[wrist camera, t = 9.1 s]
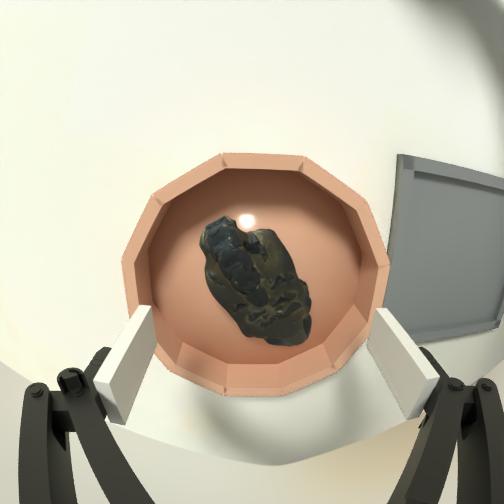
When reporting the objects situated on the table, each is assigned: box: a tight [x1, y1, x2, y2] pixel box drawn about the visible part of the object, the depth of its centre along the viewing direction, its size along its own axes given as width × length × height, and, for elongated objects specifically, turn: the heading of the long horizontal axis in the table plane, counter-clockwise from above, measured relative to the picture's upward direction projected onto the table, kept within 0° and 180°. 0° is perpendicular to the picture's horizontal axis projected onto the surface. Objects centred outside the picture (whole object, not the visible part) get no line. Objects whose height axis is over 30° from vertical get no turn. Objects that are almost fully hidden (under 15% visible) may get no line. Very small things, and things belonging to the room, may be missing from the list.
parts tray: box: [382, 154, 504, 343], centre depth 25 cm, size 18×20×1 cm
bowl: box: [121, 153, 390, 396], centre depth 23 cm, size 20×20×4 cm
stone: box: [199, 216, 312, 347], centre depth 22 cm, size 7×13×5 cm, turn 32°
